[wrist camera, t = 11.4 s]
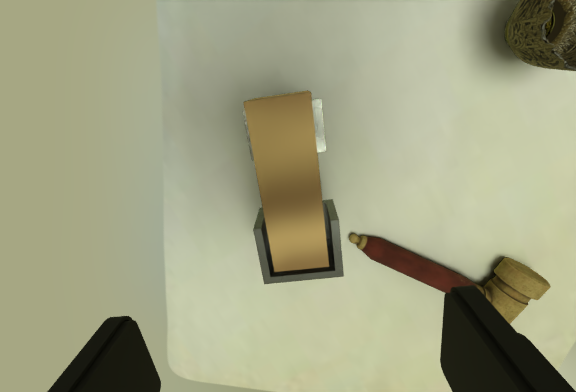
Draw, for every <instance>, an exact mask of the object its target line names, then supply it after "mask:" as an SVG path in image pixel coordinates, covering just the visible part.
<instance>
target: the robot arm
mask: <svg viewBox="0 0 576 392" xmlns="http://www.w3.org/2000/svg"><path fill="white" fill-rule="evenodd" d="M440 362H441V367H442V370H443V373H444V375H445V377H446V379H447V381H448V383H449V385H450V387H451V389H452V391H453V392H576V391H575V390H574V389H573V388H572V387H571V386H570V385H569V384H568V383H567V381H566V380H565V379H564V378H563V377H562V376H561V375H560V374H559V373H558V371H557V370H556V369H555V368H554V367H553V366H552V365H551V364H550V362H549V361H548V360H547V359H546V358H545V357H544V356H543V355H542V354H541V352H540V351H539V350H538V349H537V348H536V347H535V346H534V345H533V344H532V342H531V341H530V340H528V339H527V338H526V337H525V336H524V335H522V334H520V333H517V332H516V331H515V330H514V329H513V327H512V326H511V325H510V324H509V323H508V322H507V321H506V320H505V318H504V317H503V316H502V315H501V314H500V313H499V312H498V310H497V309H496V308H495V307H494V306H493V305H492V304H491V302H490V301H489V300H488V299H487V298H486V297H485V296H484V295H483V293H482V292H481V291H480V290H479V289H478V288H477V287H476V286H474V285H469V286H458V287H452V288H451V290H450V293H446V294H445V298H444V313H443V328H442V343H441V357H440ZM160 388H161V381H160V378H159V376H158V373H157V371H156V368H155V366H154V363H153V361H152V358H151V356H150V354H149V351H148V349H147V346H146V344H145V341H144V339H143V337H142V334H141V332H140V329H139V327H138V325H137V323H136V321H134V320H132V318H131V317H129V316H121V317H110V318H108V319H107V320H105V321H104V323H103V324H102V325H101V326H100V327H99V329H98V330H97V331H96V332H95V334H94V335H93V336H92V337H91V339H90V340H89V341H88V342H87V344H86V345H85V346H84V347H83V349H82V350H81V351H80V352H79V354H78V355H77V356H76V357H75V358H74V360H73V361H72V362H71V363H70V365H69V366H68V367H67V368H66V370H65V371H64V372H63V373H62V375H61V376H60V377H59V378H58V379H57V381H56V382H55V383H54V384H53V386H52V387H51V388H50V389H49V391H48V392H160Z"/></svg>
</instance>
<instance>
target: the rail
mask: <svg viewBox="0 0 576 392" xmlns="http://www.w3.org/2000/svg"><path fill="white" fill-rule="evenodd" d="M244 108H245V113H246V119H247V124H248V130H249V135H250V141H251V146H252V152H253V157H254V162H255V168H256V173H257V179H258V184H259V190H260V195H261V201H262V206H263V212H264V217H265V222H266V228H267V233H268V239H269V244H270V250H271V255H272V261H273V266H274V272H280V271H290V270H300V269H310V268H320V267H329V261H328V251H327V242H326V232H325V222H324V213H323V203H322V194H321V184H320V174H319V165H318V155H317V146H316V136H315V126H314V117H313V107H312V98H311V92H309V91H302V92H295V93H288V94H281V95H274V96H267V97H260V98H254V99H251V100H248V101H245V102H244Z"/></svg>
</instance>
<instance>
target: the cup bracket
mask: <svg viewBox="0 0 576 392" xmlns="http://www.w3.org/2000/svg"><path fill="white" fill-rule="evenodd" d="M322 203H323V213H324V222H325V232H326V242H327V251H328V261H329V267H320V268H310V269H300V270H290V271H280V272H274V266H273V261H272V255H271V250H270V244H269V239H268V233H267V228H266V222H265V217H264V212H263V208H260V209H259V212H258V215H257V219H256V222H255V225H254V229H253V231H254V236H255V240H256V245H257V250H258V255H259V260H260V265H261V270H262V275H263V280H264V284H271V283H281V282H291V281H302V280H312V279H322V278H332V277H343V276H344V275H343V263H342V251H341V240H340V228H339V219H338V216H337V212H336V209H335V206H334V203H333V199H331V200H322Z"/></svg>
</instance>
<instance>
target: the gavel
mask: <svg viewBox="0 0 576 392" xmlns="http://www.w3.org/2000/svg"><path fill="white" fill-rule="evenodd" d="M349 240H350V242H351V243H356V244H357V247H358V249H361V250H362V251H363V252H364V253H365V254H366V255H367V256H368V257H369V258H370V259H372V260H374V261H376V262H379V263H381V264H383V265H385V266H387V267H390V268H392V269H394V270H396V271H398V272H401V273H403V274H405V275H407V276H409V277H412V278H414V279H416V280H418V281H420V282H423V283H425V284H427V285H429V286H431V287H434V288H436V289H438V290H440V291H442V292H445V293H450V290H451V288H452V287H458V286H469V285H474V286H476V287H477V288H478V289H479V290H480V291H481V292H482V293H483V295H484V296H485V297H486V298H487V299H488V300H489V301H490V302H491V304H492V305H493V306H494V307H495V308H496V309H497V310H498V312H499V313H500V314H501V315H502V316H503V317H504V318H505V320H506V321H507V322H508V323H509V324H510V323H511V322H512V321H513V320H514V319H515V318H516V317H517V316H518V315H519V314H520V313H521V312H522V311H523V310H524V309H525V307H526V306H527V305H528V302H529V300H530V299H531V298H532V299H535V300H539V298H540V297H541V296H542V295H543V294H544V293H545V292H546V291H547V290H548V289H549V288H550V284H549V283H548V281H547V280H545V279H544V278H543V277H542V276H540V275H539V274H538V273H536V272H535V271H533V270H532V269H530V268H529V267H527V266H525V265H523V264H522V263H519V262H517V261H515V260H513V259H511V258H504V259H503V260H502V261H501V262H500V263H499V265H498V266H497V267H496V268H495V269H494V272H495V273H496V276H495V277H494V278H491V279H490V280H489V281H488V282H487V284H486V285H485V286H484V287H482V286H479V285H477V284H475V283H473V282H472V281H470V280H469V279H467V278H466V277H464V276H462V275H460V274H458V273H455V272H453V271H451V270H449V269H447V268H444V267H442V266H440V265H438V264H436V263H434V262H431V261H429V260H427V259H425V258H423V257H420V256H418V255H416V254H414V253H412V252H410V251H407V250H405V249H403V248H401V247H399V246H397V245H394V244H392V243H390V242H388V241H386V240H383V239H381V238H376V237H366V236H364V235H363V236H361V237H358V236H357V235H356V234H351V236H350V238H349Z"/></svg>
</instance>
